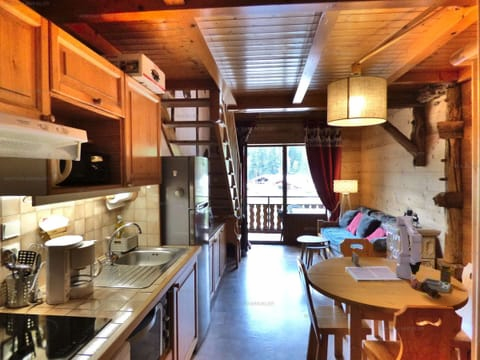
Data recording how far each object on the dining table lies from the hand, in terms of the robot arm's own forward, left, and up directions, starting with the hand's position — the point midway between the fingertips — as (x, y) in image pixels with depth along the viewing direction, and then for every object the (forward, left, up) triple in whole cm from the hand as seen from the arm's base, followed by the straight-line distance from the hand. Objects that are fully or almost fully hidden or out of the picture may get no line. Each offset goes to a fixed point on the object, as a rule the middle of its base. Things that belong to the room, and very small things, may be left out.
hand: (415, 272), depth 201 cm
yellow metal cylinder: (+14, +22, -10) cm, 27 cm away
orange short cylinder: (0, 0, -10) cm, 10 cm away
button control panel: (+11, +9, -9) cm, 17 cm away
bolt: (+10, -7, -10) cm, 16 cm away
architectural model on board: (-49, +27, -10) cm, 57 cm away
